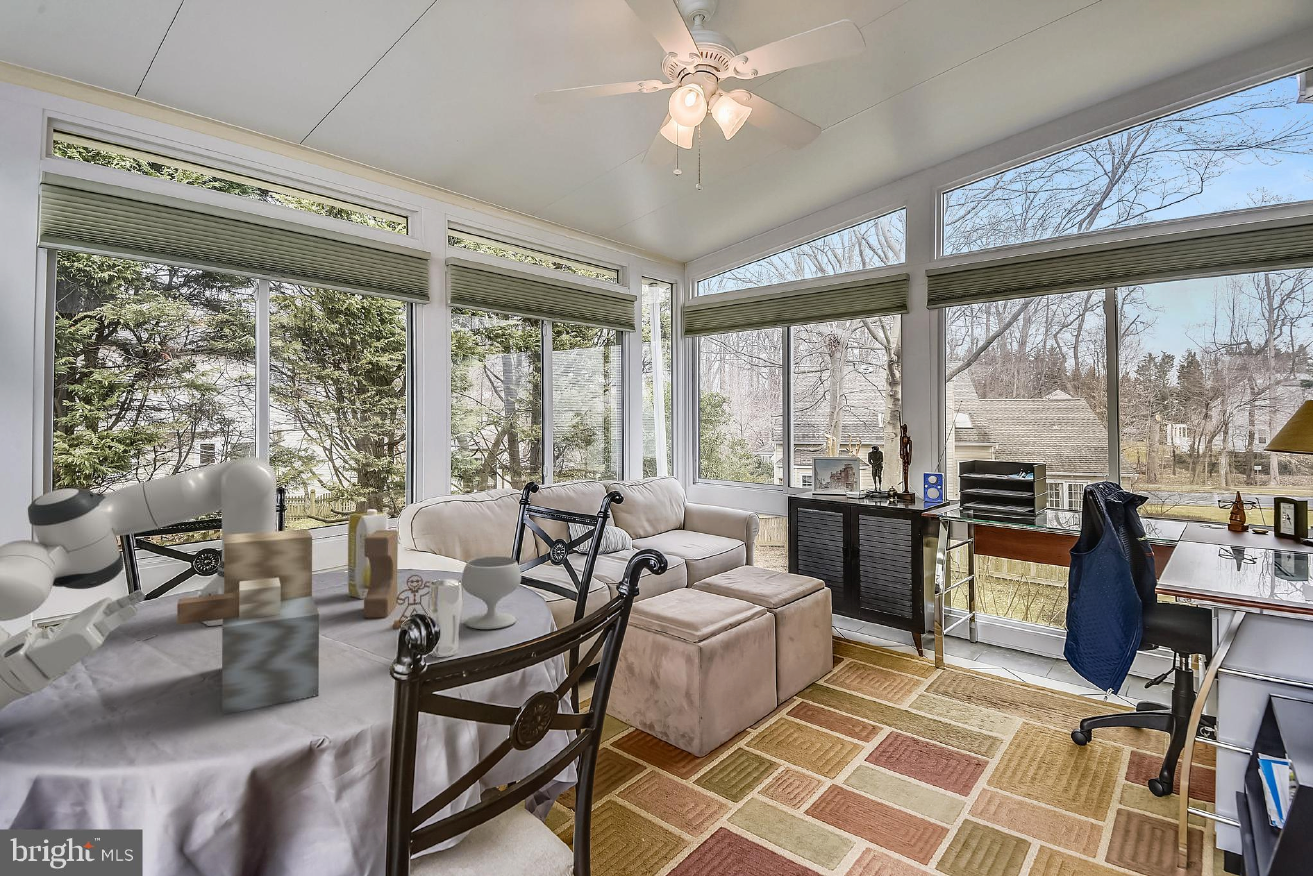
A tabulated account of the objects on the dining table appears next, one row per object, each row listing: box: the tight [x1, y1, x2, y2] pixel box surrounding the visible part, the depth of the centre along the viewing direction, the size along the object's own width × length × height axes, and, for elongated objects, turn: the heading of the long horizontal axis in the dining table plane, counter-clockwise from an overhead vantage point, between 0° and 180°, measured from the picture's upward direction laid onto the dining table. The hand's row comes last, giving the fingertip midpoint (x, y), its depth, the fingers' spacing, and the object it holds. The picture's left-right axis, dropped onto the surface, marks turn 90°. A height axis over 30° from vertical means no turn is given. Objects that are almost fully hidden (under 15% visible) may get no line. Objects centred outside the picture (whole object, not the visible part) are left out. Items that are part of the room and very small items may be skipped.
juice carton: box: [347, 508, 389, 600], centre depth 173 cm, size 9×8×24 cm
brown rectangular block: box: [176, 578, 281, 626], centre depth 108 cm, size 14×7×5 cm, turn 124°
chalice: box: [461, 556, 522, 630], centre depth 151 cm, size 14×14×15 cm
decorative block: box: [363, 529, 399, 619], centre depth 158 cm, size 11×6×20 cm, turn 9°
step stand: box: [221, 529, 320, 716], centre depth 115 cm, size 14×24×26 cm, turn 34°
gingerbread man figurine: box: [393, 574, 431, 630], centre depth 149 cm, size 9×4×12 cm, turn 115°
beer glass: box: [427, 577, 464, 658], centre depth 131 cm, size 7×7×15 cm
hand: (139, 600), depth 101 cm, fingers open, 8 cm apart
